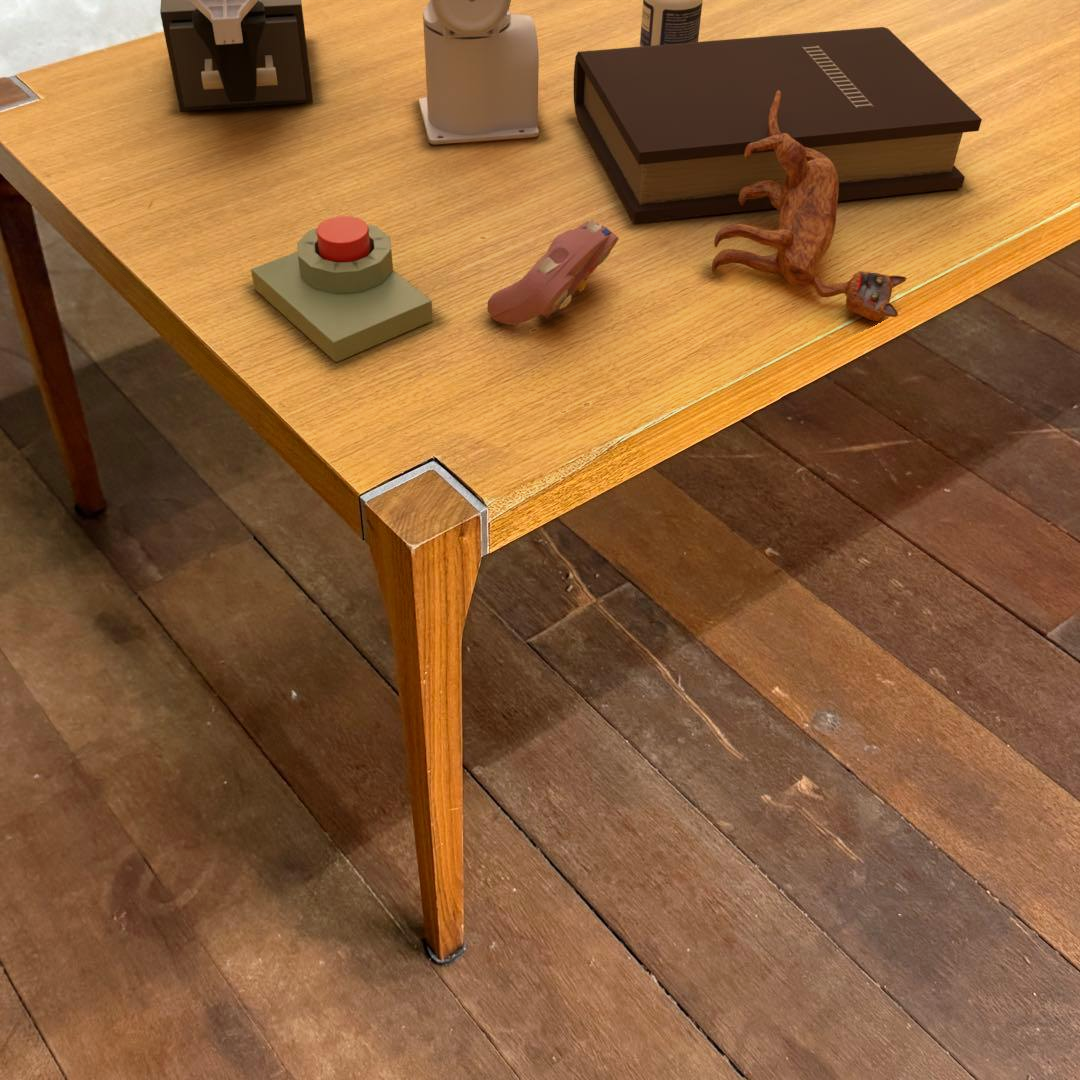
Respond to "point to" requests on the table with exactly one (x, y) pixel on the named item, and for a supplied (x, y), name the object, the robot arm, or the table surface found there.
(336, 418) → the table surface
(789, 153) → the cat figurine
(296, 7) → the cabinet
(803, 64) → the book
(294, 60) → the drawer
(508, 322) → the pink pronged piece
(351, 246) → the button
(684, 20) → the pill bottle
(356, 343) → the olive button base
